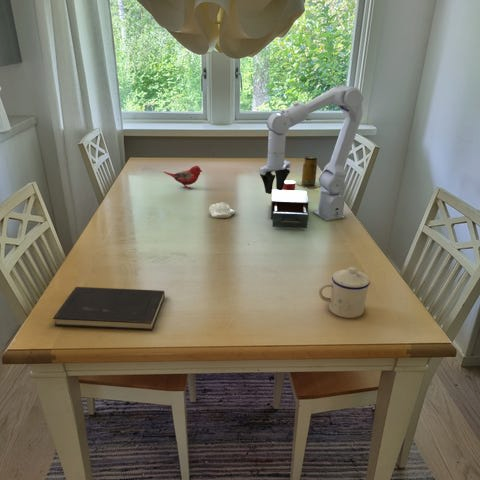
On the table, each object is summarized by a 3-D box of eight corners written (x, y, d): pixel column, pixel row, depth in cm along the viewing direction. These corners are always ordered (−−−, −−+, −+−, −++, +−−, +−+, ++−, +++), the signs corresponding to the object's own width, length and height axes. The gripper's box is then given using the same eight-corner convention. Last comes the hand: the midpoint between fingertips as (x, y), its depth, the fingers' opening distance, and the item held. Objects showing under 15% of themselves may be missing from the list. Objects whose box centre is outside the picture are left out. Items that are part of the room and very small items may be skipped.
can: (295, 203, 192) (297, 183, 188) (283, 204, 191) (284, 184, 187) (291, 199, 196) (293, 180, 192) (280, 200, 195) (281, 180, 191)
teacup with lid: (360, 301, 125) (367, 260, 119) (367, 319, 118) (376, 277, 112) (314, 300, 125) (319, 259, 119) (319, 318, 118) (324, 275, 112)
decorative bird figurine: (201, 191, 203) (201, 167, 198) (162, 187, 207) (161, 163, 202) (203, 189, 205) (203, 165, 200) (165, 185, 209) (164, 161, 204)
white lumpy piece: (205, 199, 180) (230, 197, 183) (205, 210, 182) (230, 208, 185) (212, 207, 172) (238, 205, 175) (212, 219, 174) (238, 217, 177)
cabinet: (306, 220, 176) (308, 202, 172) (270, 218, 176) (271, 201, 173) (304, 207, 188) (306, 190, 184) (271, 206, 188) (272, 189, 185)
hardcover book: (152, 330, 111) (151, 322, 110) (54, 326, 112) (52, 317, 111) (164, 297, 125) (164, 289, 124) (77, 293, 126) (76, 285, 125)
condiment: (308, 181, 219) (310, 154, 212) (322, 186, 213) (325, 158, 207) (296, 184, 215) (299, 156, 209) (310, 188, 209) (313, 160, 203)
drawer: (307, 232, 163) (309, 218, 161) (272, 231, 164) (273, 216, 161) (304, 215, 178) (306, 201, 175) (272, 214, 179) (273, 200, 176)
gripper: (271, 157, 156) (269, 198, 163) (298, 150, 165) (295, 189, 172) (255, 153, 160) (253, 193, 167) (282, 147, 169) (280, 185, 177)
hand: (273, 191), depth 170 cm, fingers open, 5 cm apart
